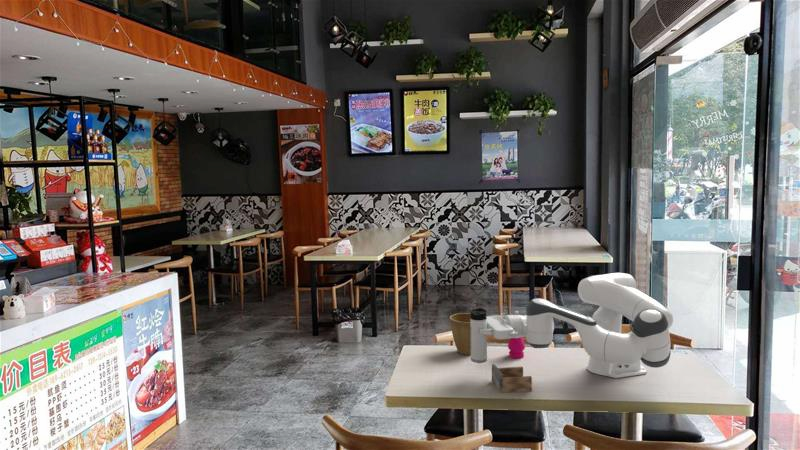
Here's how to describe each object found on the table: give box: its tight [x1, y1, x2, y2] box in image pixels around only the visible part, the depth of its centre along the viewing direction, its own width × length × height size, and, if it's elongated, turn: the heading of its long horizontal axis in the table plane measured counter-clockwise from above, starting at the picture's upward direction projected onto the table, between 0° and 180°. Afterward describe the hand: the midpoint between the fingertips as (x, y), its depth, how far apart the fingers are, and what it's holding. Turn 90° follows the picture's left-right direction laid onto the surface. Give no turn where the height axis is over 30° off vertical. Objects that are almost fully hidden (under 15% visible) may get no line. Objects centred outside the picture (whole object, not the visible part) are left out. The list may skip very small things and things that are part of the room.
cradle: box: [491, 363, 533, 394], centre depth 227 cm, size 12×12×7 cm
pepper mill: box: [507, 310, 526, 359], centre depth 260 cm, size 7×7×20 cm
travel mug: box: [470, 307, 488, 364], centre depth 233 cm, size 6×7×20 cm
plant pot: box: [449, 312, 471, 356], centre depth 266 cm, size 15×15×16 cm
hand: (476, 328), depth 233 cm, fingers closed on travel mug, 6 cm apart
